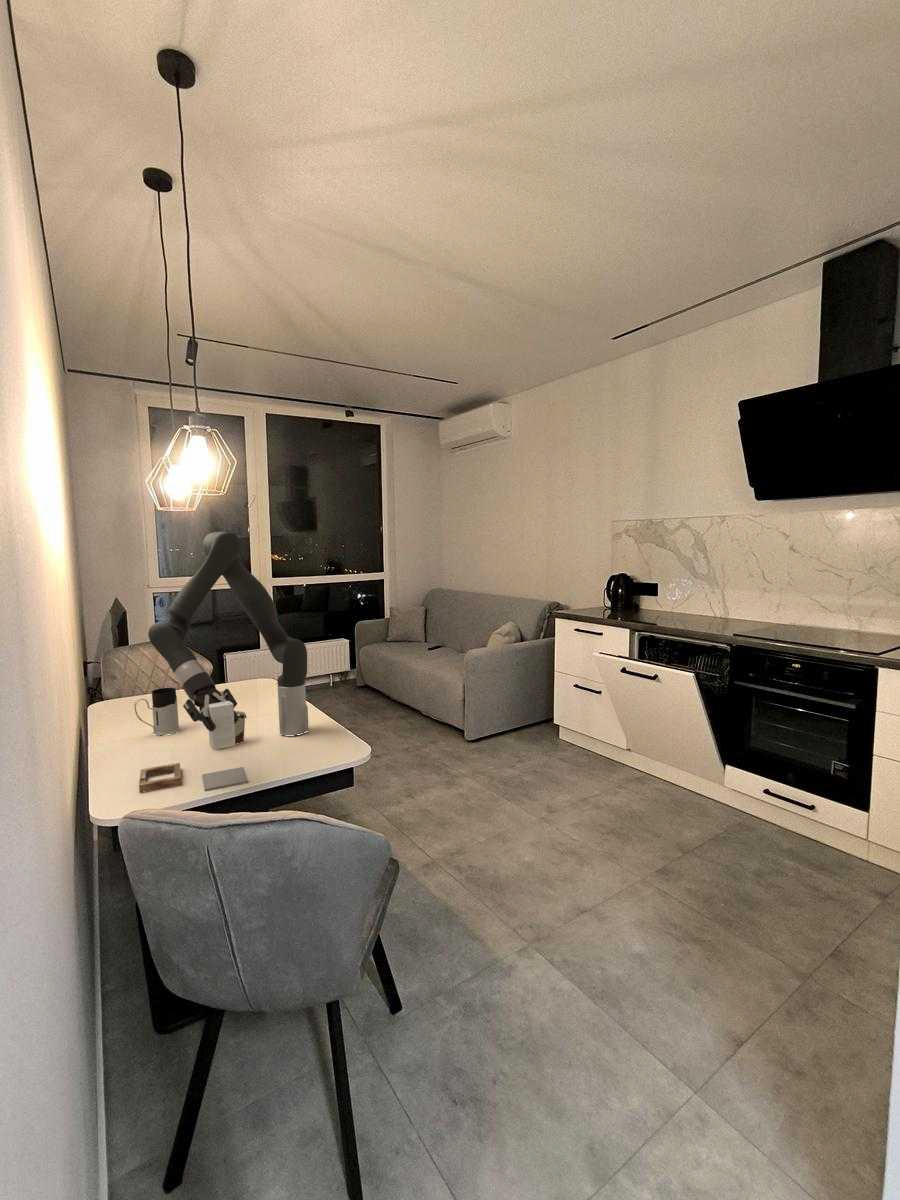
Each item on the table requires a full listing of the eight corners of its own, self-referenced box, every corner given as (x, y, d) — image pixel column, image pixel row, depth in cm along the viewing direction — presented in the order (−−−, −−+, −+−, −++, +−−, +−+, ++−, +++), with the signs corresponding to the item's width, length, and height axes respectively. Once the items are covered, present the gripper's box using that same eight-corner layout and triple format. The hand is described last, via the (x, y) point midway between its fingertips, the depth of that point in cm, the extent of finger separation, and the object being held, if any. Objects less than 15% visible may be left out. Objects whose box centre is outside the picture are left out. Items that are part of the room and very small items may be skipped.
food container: (240, 736, 189) (238, 708, 188) (248, 741, 185) (246, 712, 184) (203, 746, 181) (201, 716, 180) (210, 751, 176) (208, 720, 175)
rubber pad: (243, 768, 162) (243, 766, 162) (248, 782, 152) (248, 780, 152) (202, 776, 157) (202, 774, 157) (204, 791, 147) (204, 789, 147)
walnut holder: (180, 769, 162) (179, 761, 162) (181, 784, 152) (180, 776, 151) (141, 776, 158) (140, 767, 157) (139, 792, 147) (138, 783, 147)
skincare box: (231, 741, 157) (229, 700, 156) (235, 745, 154) (234, 703, 153) (208, 746, 154) (206, 704, 152) (212, 750, 150) (211, 707, 149)
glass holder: (184, 731, 196) (182, 689, 194) (142, 742, 185) (139, 698, 183) (173, 726, 201) (170, 685, 200) (131, 737, 190) (128, 694, 189)
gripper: (177, 676, 149) (209, 725, 145) (221, 666, 162) (252, 710, 157) (166, 693, 152) (196, 741, 148) (210, 682, 165) (239, 726, 160)
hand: (225, 725), depth 152 cm, fingers closed on skincare box, 7 cm apart
